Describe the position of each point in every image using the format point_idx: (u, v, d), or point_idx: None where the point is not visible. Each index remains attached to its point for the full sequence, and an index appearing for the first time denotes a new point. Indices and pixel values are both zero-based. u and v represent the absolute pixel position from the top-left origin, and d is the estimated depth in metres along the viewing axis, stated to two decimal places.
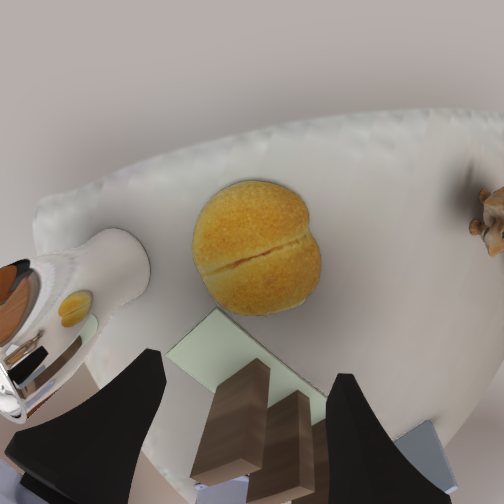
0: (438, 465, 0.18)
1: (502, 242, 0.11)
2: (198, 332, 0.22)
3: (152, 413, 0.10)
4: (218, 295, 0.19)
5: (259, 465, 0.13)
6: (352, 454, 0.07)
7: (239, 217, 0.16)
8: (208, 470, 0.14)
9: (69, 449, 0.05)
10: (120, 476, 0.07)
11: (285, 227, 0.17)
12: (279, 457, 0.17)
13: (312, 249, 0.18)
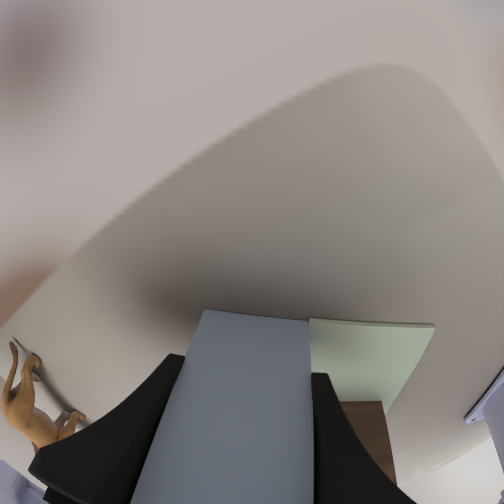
0: None
1: None
2: None
3: None
4: None
5: None
6: (320, 455, 0.07)
7: None
8: None
9: (101, 464, 0.05)
10: None
11: None
12: None
13: None
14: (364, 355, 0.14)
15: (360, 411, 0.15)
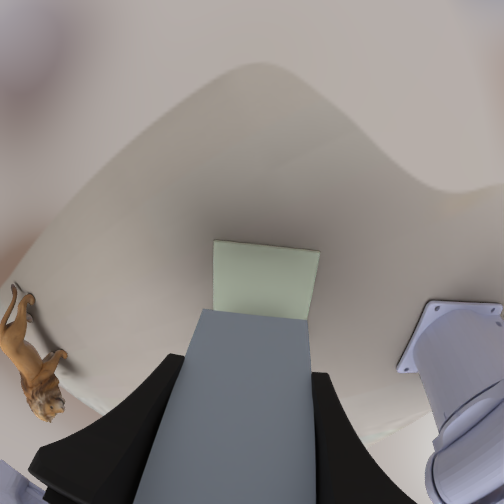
0: None
1: (56, 412, 0.23)
2: None
3: None
4: None
5: None
6: (320, 455, 0.07)
7: None
8: None
9: (101, 463, 0.05)
10: None
11: None
12: None
13: None
14: (261, 273, 0.20)
15: None
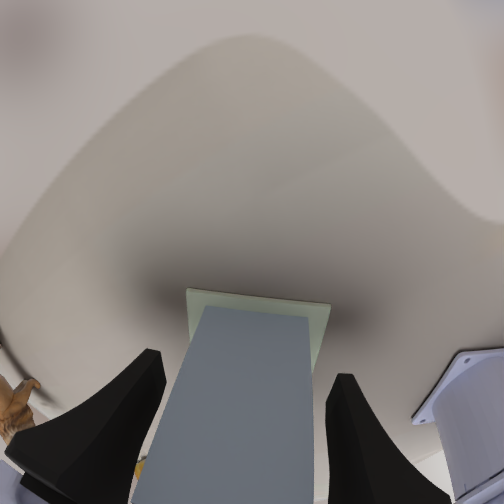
0: None
1: None
2: None
3: (152, 413, 0.10)
4: None
5: None
6: (352, 454, 0.07)
7: None
8: None
9: (69, 449, 0.05)
10: (120, 476, 0.07)
11: None
12: None
13: (140, 470, 0.25)
14: None
15: None
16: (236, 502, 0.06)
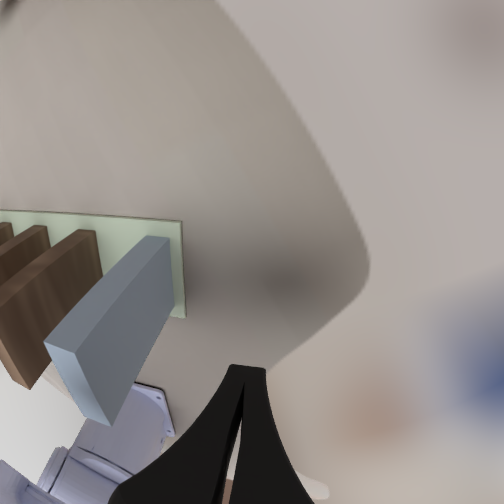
0: None
1: None
2: None
3: (237, 430, 0.10)
4: None
5: None
6: None
7: None
8: None
9: (196, 493, 0.05)
10: (219, 502, 0.07)
11: None
12: None
13: None
14: None
15: (97, 280, 0.18)
16: (105, 387, 0.10)
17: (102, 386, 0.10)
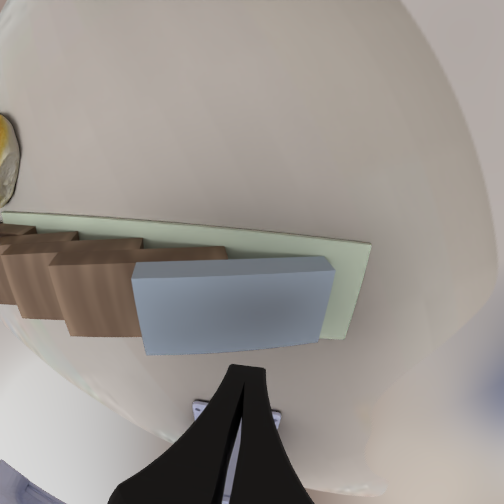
0: None
1: None
2: None
3: (237, 430, 0.10)
4: None
5: None
6: None
7: None
8: None
9: (196, 493, 0.05)
10: (219, 502, 0.07)
11: None
12: None
13: None
14: None
15: None
16: (155, 326, 0.14)
17: (151, 322, 0.14)
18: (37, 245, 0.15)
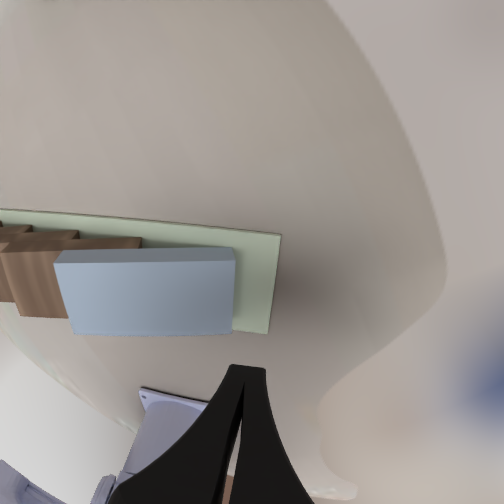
0: None
1: None
2: None
3: (237, 430, 0.10)
4: None
5: None
6: None
7: None
8: None
9: (196, 493, 0.05)
10: (219, 502, 0.07)
11: None
12: None
13: None
14: (240, 284, 0.17)
15: None
16: (77, 307, 0.14)
17: (73, 303, 0.14)
18: None
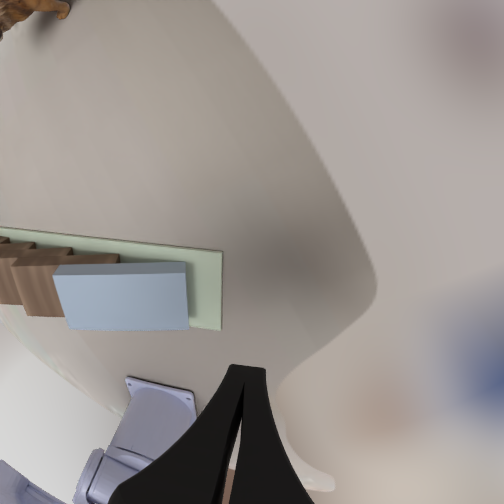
0: None
1: None
2: None
3: (237, 430, 0.10)
4: None
5: None
6: None
7: None
8: None
9: (196, 493, 0.05)
10: (219, 502, 0.07)
11: None
12: None
13: None
14: (194, 290, 0.22)
15: None
16: (71, 308, 0.19)
17: (68, 305, 0.18)
18: (7, 252, 0.19)
